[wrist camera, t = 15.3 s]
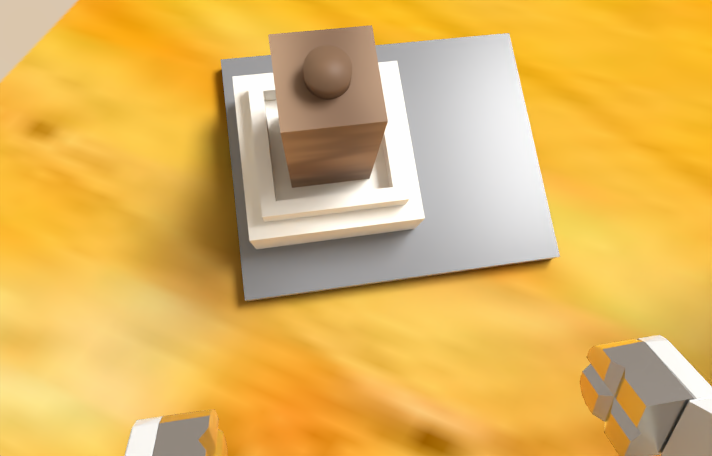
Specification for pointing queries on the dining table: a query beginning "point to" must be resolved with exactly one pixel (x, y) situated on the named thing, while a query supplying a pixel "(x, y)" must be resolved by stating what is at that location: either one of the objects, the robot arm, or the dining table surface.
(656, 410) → the robot arm
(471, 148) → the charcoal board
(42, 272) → the dining table surface
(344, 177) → the walnut pillar
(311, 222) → the block
